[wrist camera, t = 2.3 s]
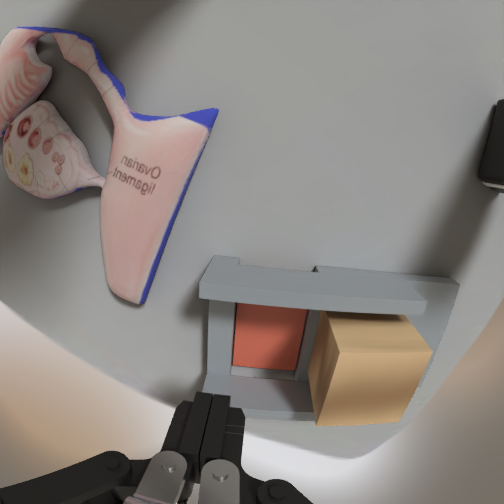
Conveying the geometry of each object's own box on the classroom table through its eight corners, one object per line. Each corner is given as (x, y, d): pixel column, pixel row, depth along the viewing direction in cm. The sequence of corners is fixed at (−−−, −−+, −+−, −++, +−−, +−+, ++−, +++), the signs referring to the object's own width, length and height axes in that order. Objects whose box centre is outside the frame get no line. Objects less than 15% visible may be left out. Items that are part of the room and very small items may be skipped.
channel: (214, 255, 18) (199, 282, 14) (451, 278, 18) (484, 303, 13) (209, 370, 20) (199, 411, 16) (414, 377, 20) (434, 412, 16)
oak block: (322, 302, 17) (339, 352, 12) (398, 307, 17) (432, 351, 12) (307, 369, 19) (316, 425, 14) (377, 371, 18) (398, 421, 14)
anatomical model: (151, 297, 20) (244, 80, 15) (135, 317, 17) (240, 66, 13) (-27, 192, 18) (23, 29, 14) (-48, 198, 15) (2, 22, 11)
